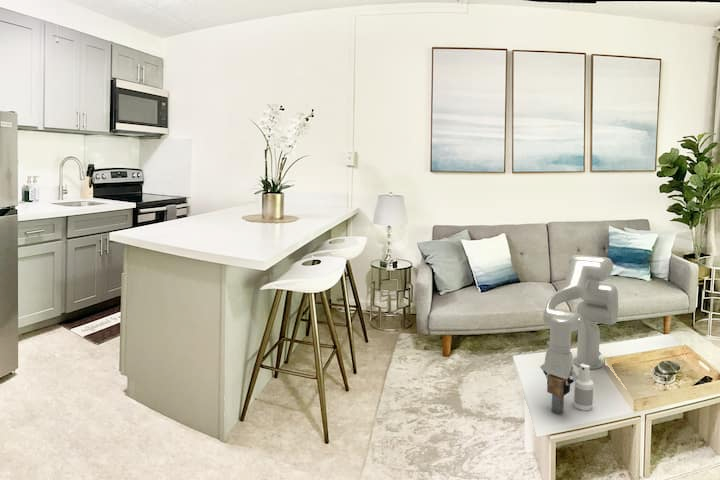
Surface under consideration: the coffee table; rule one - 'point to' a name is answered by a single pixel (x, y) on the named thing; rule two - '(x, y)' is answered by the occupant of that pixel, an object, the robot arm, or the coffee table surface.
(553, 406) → the post
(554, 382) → the tan wooden cube
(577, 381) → the spray bottle
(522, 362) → the coffee table surface
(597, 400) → the coffee table surface
